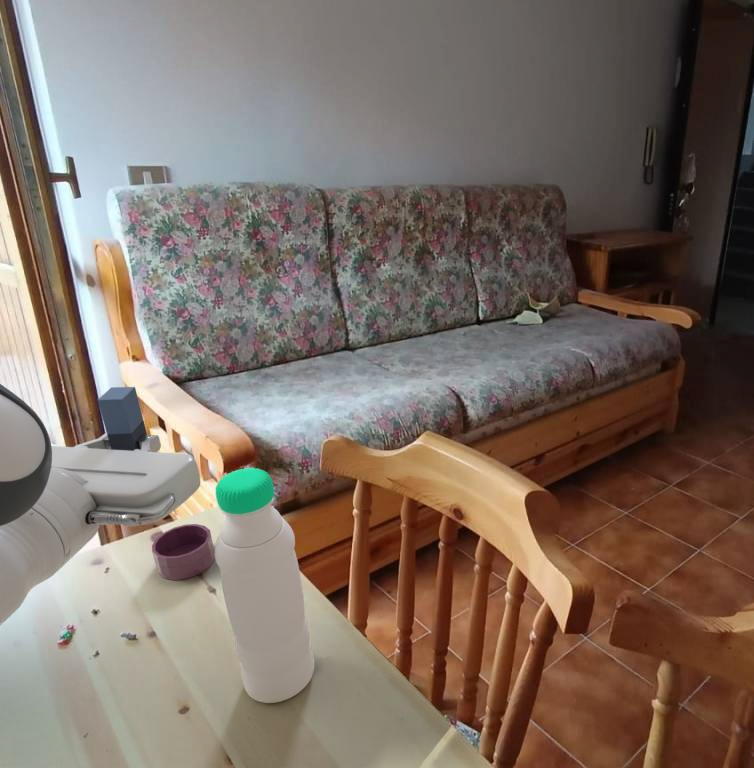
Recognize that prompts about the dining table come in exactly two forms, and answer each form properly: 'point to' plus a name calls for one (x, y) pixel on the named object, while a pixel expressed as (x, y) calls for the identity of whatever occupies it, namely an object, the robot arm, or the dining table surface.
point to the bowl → (183, 551)
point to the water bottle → (262, 588)
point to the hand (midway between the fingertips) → (135, 439)
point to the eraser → (122, 417)
